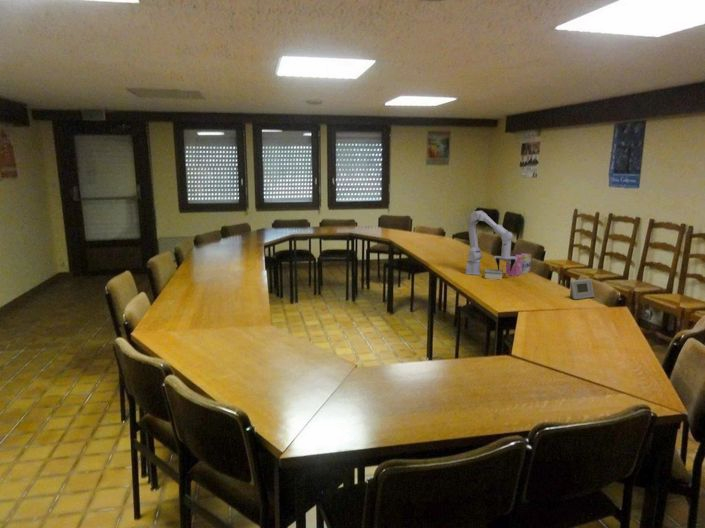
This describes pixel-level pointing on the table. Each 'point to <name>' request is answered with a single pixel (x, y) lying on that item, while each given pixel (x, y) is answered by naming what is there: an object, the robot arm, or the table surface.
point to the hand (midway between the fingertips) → (504, 270)
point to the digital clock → (581, 289)
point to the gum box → (519, 264)
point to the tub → (493, 275)
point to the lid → (496, 270)
